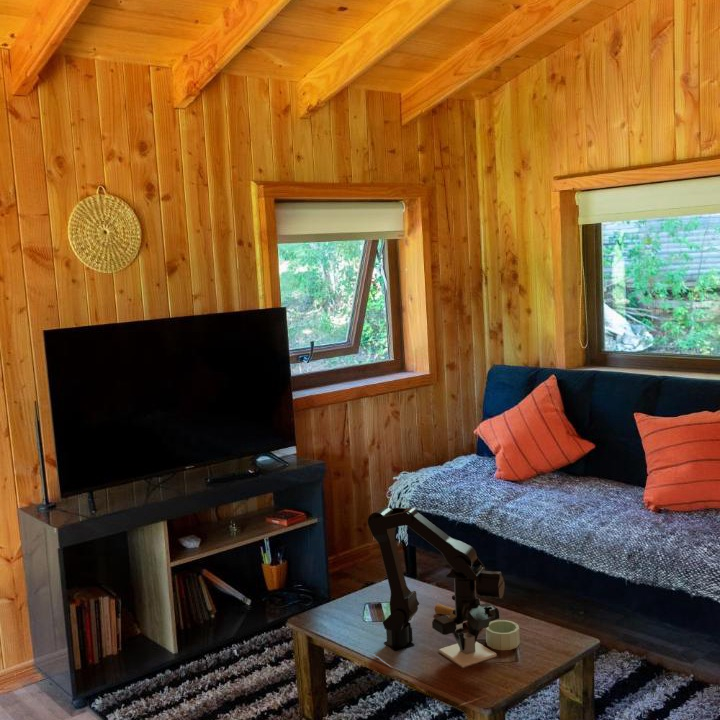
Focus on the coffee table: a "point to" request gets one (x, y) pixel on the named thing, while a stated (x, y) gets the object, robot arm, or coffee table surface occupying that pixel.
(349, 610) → the coffee table surface
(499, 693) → the coffee table surface
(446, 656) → the gray square plate
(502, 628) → the bowl
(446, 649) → the lid
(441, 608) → the kendama
